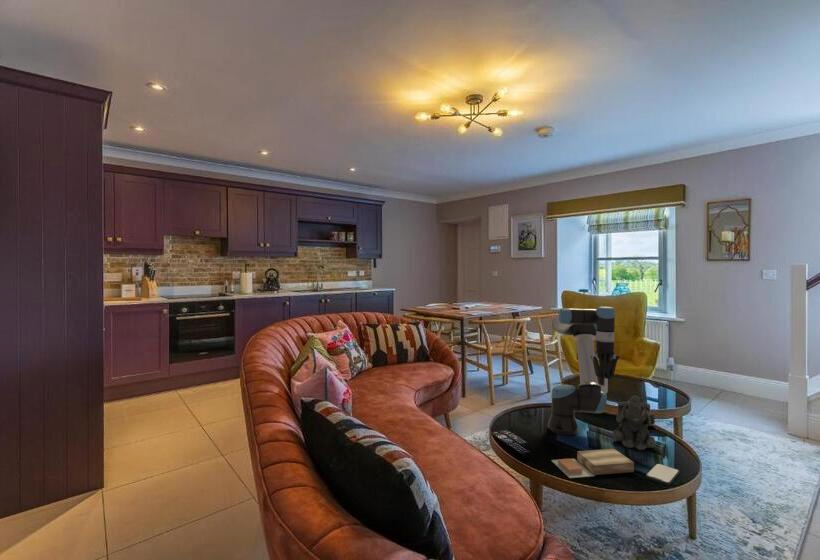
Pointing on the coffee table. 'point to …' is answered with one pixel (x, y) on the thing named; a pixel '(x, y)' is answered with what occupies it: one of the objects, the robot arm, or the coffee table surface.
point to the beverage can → (652, 419)
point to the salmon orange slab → (570, 466)
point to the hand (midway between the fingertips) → (604, 391)
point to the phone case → (662, 474)
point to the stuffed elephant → (634, 424)
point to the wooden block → (605, 461)
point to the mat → (584, 474)
